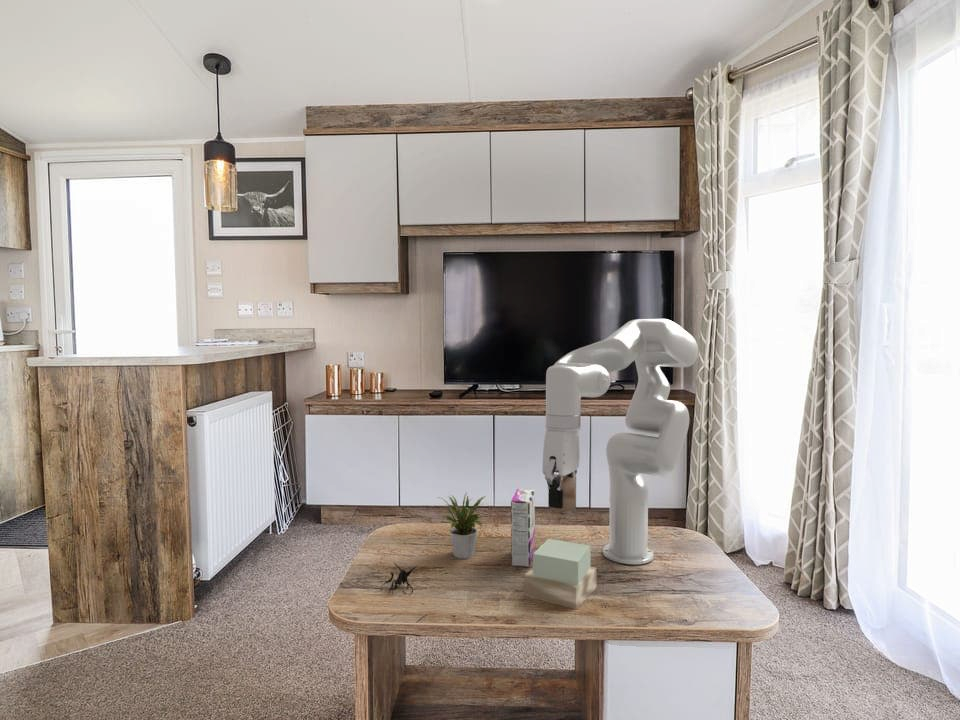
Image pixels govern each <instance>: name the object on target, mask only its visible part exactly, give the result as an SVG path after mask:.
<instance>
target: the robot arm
mask: <svg viewBox="0 0 960 720" xmlns="http://www.w3.org/2000/svg"><path fill="white" fill-rule="evenodd" d="M698 357H699V345H698V343H697V341H696V339H695V338H694V336H693V335H692V334H690V333H689V331H686V330H685V329H684V328H683V327H682V326H680V325H679V324H678V323H676V322H674V321H672V320H670V319H667V318H637V319H632V320H629V321H627V322H626V323H625V324H624V325H622V326H621V327H619V328H618V329H617V330H615V331H614V332H613V333H612V334H610V335H609V336H608V337H606V338H605V339H604V340H603V339H602V340H600V341H597V342H594V343H591V344H588V345H585V346H582V347H579V348H577V349H574V350H572V351H570V352H568V353H567V354H565V355H563V356H562V357H560V358H559V359H558V360H557V361H556V362H555V363H554V364H553V365H551V366H549V367H548V368H547V370H546V373H545V434H544V440H543V441H544V442H543V450H542V451H543V452H542V474H543V475H544V479H545V481H546V483H547V489H548V493H547V494H548V496H547V497H548V504H547V505H548V508H549V507H553V508H558V509H562V508H563V490H561V488H562V482H563V477H564V476H567V477H572V478H575V479H576V480H577V474H578V473H577V472H578V470H577V469H578V468H579V466H580V436H579V435H580V434H579V431H580V430H581V414H582V413H581V411H582V410H581V400H582V399H581V398H582V397H583V398H599V397H601V396H603V395H605V394H606V393H607V391H608V390H609V388H610V385H611V376H610V373H613V372H614V373H615V372H617V371H621V370H625V369H626V368H628V367H629V366H630V365H631V364H632V363H633V362H635V367H636V372H637V376H638V377H637V378H638V380H637V384H636V388H635V390H634V393H633V396H632V398H631V400H630V403H629V406H628V408H627V411H626V414H625V423H624V424H625V426H626V427H627V429H628V430H630V431H631V432H618V433H615V434H612V436H611V437H609V439H608V441H607V443H606V447H605V448H606V449H605V453H606V460H607V466H608V472H609V524H608V525H609V530H608V531H609V537H608V538H609V540H608V541H609V542H608V544H606V545H604V546H603V548H602V555H603V556H604V557H605V558H606V559H608V560H610V561H612V562H615V563H619V564H625V565H645V564H649V563H650V562H652V561H653V559H654V555H655V554H654V551H652V549H650V548H649V547H648V536H649V535H648V528H649V527H648V525H649V523H648V522H649V515H648V514H649V488H648V484H647V483H648V482H647V481H646V479H645V477H644V475H647V476H651V477H652V476H654V477H661V478H666V477H669V476H670V475H671V474H673V472H674V471H675V469H676V466H677V463H678V461H679V457H680V455H681V452H682V449H683V446H684V444H685V440H686V436H687V434H688V431H689V426H690V412H689V410H688V408H687V406H686V405H685V404H684V403H683V402H681V401H677V400H672V399H671V400H670V399H668V397H669V395H670V392H671V385H670V383H669V381H668V378H667V377H666V375H665V373H664V372H663V371H662V369H661V367H664V368H665V367H670V368H688V367H691V366H693V365H694V364H695V362H696V361H697V359H698ZM632 432H633V433H632ZM555 473H558V474H555ZM643 474H644V475H643ZM554 478H559V479H558V483H557V481H556V479H554Z"/></svg>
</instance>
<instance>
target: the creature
mask: <svg viewBox="0 0 960 720" xmlns="http://www.w3.org/2000/svg"><path fill="white" fill-rule="evenodd" d="M393 563H394V565H395V567H397V568H398V570H399V571H400V572H399V573H398V572H397V571H395V573H396V574H397V578H396V580H393V579H394V572H390V575H391V577H390V578H389V580H386V581H385V582H384V583H383V584H382V585H381V587H380V591H382V592H383V589H382V587H383V586H384V585H385V584H388V583H390V582H392V583H391V586H390V587H389V589H385V590H384V591H388V594H390V593H391V595H393V593H394V591H395V590H397V587H398V585H399V586H401V585H402V584H403V585H405V583H406V587H407V588H406V590H409V587H410V589H411V593H409V595H407V593H406V592H405V590H402V593H404V594H405V595H407V596H410V595H412V594H413V591H414V589H413V587H412V585H411V584H410V583H409V582H408V578H409V576H410V575H411V573H412V572H413V570H415V569H416V568H417V567H418V565H415V566H414V567H413V568H412V569H411V570H409V571H406V570H405V569H401V567H400V566H398V565H397V564H396V563H395V561H393ZM394 584H395V585H394ZM393 587H394V588H393ZM391 591H392V592H391Z"/></svg>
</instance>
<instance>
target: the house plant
mask: <svg viewBox="0 0 960 720" xmlns="http://www.w3.org/2000/svg"><path fill="white" fill-rule="evenodd" d="M467 493H468V491H467V492H466V493H465V494H464V497H463V501H462V509H459V505H458V502H457V499H456V497H455V496H453V495H452V494H450V496H449V497H448V498H449V500H450V502H451V504H449V503H448V501H446V500H445V499H444V498H442V497H439V496H437V499H441V500H443V501H444V502H445V503H446V505H447V506H448V507H449V508H447V507H445V509H446V510H447V511H448V512H449V514H450V515H451V516H450V515H449V514H444V515H443V516H442V517H441V518H443V519H444V523H445V522H447V521H448V523H450V526H451V528H450V531H449V533H450V540H451V541H450V542H451V546H452V552H453V553H452V554H453V556H454V557H455V558H458V559H469V558H472V557H473V556H474V555H475V548H476V542H477V536H478V529H477V528H476V524H477V525H478V526H480V528H481V529H482V526H483V524H482V522H481V521H479V519H480V518H482V517H483V516H482V515H481V513H475V511H476V510H477V508H478V507H479V506H480V507H481V505H483V503H481V502H482V500H483V499H485V498H486V497H487V495H485V496H481V497H480V498H479V499H477V500H476V502H475V503H474V504H473V505H472V507H471V509H470V511H469V506H470V501H471V500H472V498H471V499H469V496H468V495H467ZM451 496H452V497H451ZM465 499H466V500H465ZM480 503H481V504H480ZM468 511H469V513H468Z"/></svg>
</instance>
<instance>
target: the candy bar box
mask: <svg viewBox="0 0 960 720" xmlns="http://www.w3.org/2000/svg"><path fill="white" fill-rule="evenodd" d="M535 491H536V490H535V489H528V488H517V489H516V491H515V493H514V495H513V497H512V498H511V500H510V529H511V530H510V533H511V534H510V535H511V536H510V537H511V541H510V542H511V543H510V545H511V549H510V551H511V553H510V554H511V557H510V558H511V559H510V560H511V566H512V567H521V568H522V567H523V568H531V564H532V562H533V553H534V552H535V551H536V545H535V544H536V540H535V538H536V536H535V535H536V533H535V531H536V529H535V528H536V527H535V526H536V525H535V524H536V523H535V521H536V520H535V519H536V517H535V516H536V515H535V508H536V507H535Z"/></svg>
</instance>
